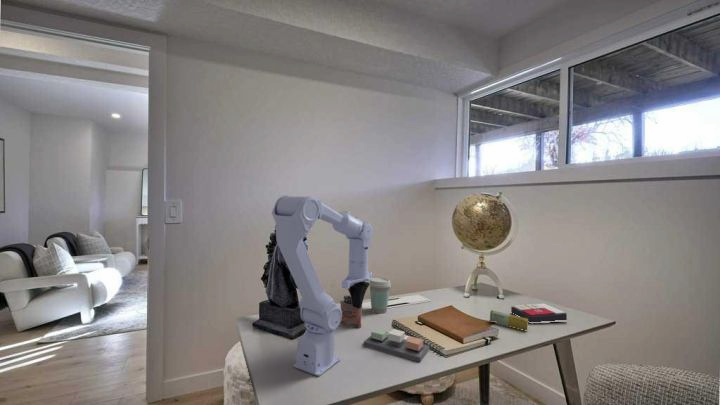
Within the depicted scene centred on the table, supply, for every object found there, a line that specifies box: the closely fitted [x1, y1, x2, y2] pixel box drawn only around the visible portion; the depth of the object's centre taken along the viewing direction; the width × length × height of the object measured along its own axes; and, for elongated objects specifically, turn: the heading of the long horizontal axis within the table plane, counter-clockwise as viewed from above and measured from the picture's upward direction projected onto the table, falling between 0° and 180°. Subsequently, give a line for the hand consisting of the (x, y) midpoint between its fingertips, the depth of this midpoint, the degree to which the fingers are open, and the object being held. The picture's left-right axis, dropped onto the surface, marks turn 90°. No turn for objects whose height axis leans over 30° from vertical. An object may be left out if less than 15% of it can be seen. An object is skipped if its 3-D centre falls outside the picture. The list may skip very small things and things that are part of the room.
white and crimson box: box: [510, 303, 568, 322], centre depth 116 cm, size 11×4×15 cm
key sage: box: [370, 327, 388, 341], centre depth 91 cm, size 4×4×2 cm
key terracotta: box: [406, 336, 424, 351], centre depth 86 cm, size 4×4×2 cm
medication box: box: [489, 309, 529, 330], centre depth 108 cm, size 12×3×4 cm, turn 52°
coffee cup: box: [368, 277, 392, 314], centre depth 118 cm, size 9×8×12 cm
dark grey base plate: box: [363, 334, 430, 363], centre depth 88 cm, size 8×17×1 cm, turn 60°
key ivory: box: [387, 328, 406, 343], centre depth 88 cm, size 4×4×2 cm
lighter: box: [339, 294, 363, 329], centre depth 104 cm, size 8×3×10 cm, turn 62°
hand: (357, 307), depth 91 cm, fingers closed
